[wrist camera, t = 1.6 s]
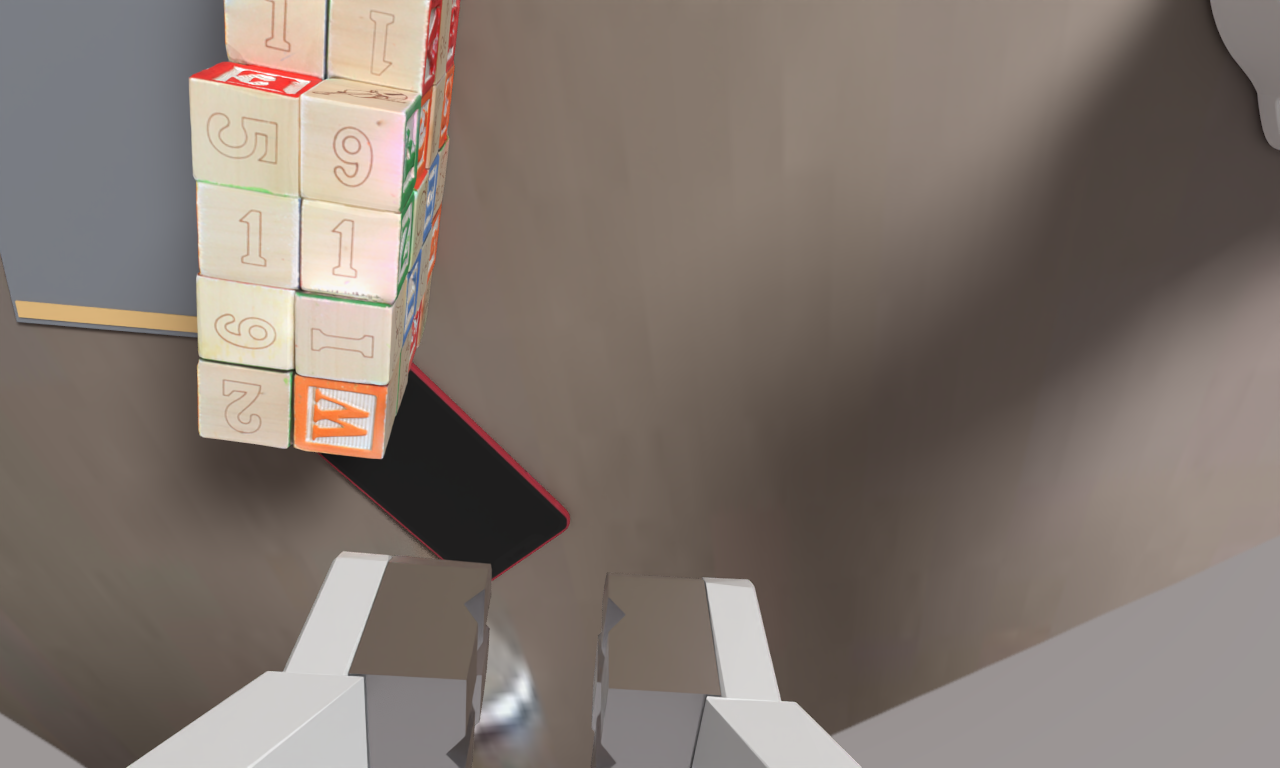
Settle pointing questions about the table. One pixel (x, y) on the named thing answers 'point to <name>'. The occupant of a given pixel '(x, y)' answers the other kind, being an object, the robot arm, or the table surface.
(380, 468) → the smartphone
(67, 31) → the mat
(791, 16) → the table surface
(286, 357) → the stack of blocks
